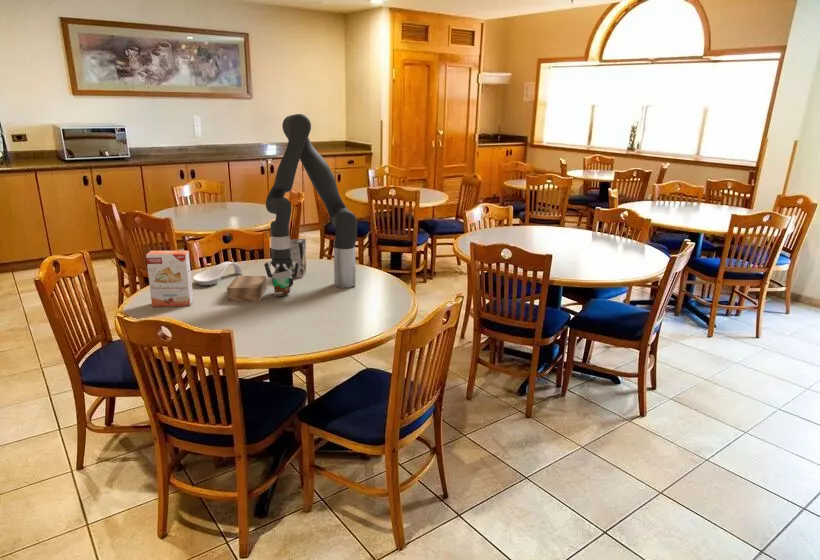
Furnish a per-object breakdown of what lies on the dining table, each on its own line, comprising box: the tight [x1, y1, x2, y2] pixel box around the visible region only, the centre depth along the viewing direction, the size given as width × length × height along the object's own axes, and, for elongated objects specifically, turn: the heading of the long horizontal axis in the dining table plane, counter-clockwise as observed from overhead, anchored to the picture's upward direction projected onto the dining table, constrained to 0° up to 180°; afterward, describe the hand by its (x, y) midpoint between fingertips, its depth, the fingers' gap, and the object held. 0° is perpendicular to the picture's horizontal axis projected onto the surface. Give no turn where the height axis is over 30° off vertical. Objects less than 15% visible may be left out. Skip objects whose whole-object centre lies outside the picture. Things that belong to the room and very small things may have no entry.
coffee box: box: [290, 238, 308, 279], centre depth 245 cm, size 9×6×16 cm
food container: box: [272, 269, 292, 297], centre depth 219 cm, size 12×6×10 cm, turn 0°
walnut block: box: [226, 275, 268, 303], centre depth 219 cm, size 12×16×6 cm
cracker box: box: [145, 250, 194, 308], centre depth 204 cm, size 14×6×21 cm, turn 99°
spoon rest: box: [192, 261, 243, 287], centre depth 236 cm, size 24×12×7 cm, turn 151°
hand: (283, 286), depth 220 cm, fingers closed on food container, 5 cm apart
